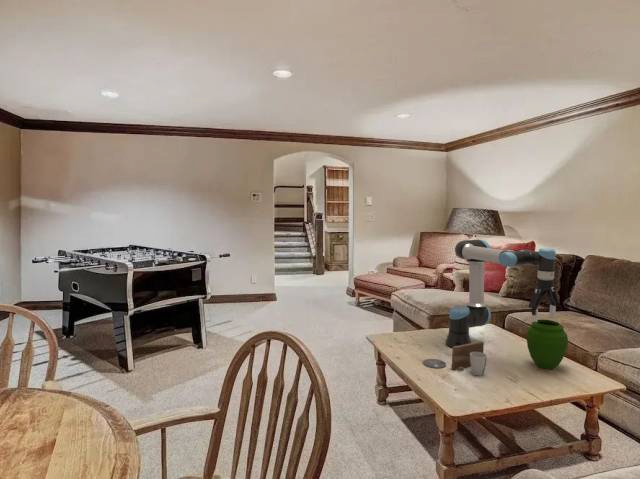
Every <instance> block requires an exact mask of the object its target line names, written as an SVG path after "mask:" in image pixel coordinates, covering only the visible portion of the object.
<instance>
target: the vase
mask: <svg viewBox="0 0 640 479" xmlns="http://www.w3.org/2000/svg"><path fill="white" fill-rule="evenodd" d="M525 336H526V337H525V338H526V344H527V349H528V353H529V356H530V358H531V360H532V361H533V362H534V364H535V366H536V367H538V368H540V369H542V370H548V371H550V370H551V371H552V370H555V369H556V368H557V367H558V366H559V365H560V364H561V363H562V361H563V359H564V357H565V356H566V353H567V350H568V349H567V348H568V345H569V338H568V333H567V332H566V331H565V330H564V326H563V325H562V324H560V323H559V322H558V321H556V320H550V319H538V320H537V322H535V321H533V322H531V326H529V327H528V329H527V331H526V335H525Z"/></svg>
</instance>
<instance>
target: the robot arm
mask: <svg viewBox="0 0 640 479" xmlns="http://www.w3.org/2000/svg"><path fill="white" fill-rule="evenodd" d="M490 246H491V245H490V243H488V242H487V241H486V240H484V239H469V240H468V239H467V240H466V239H464V240H461V241H459V242H457V243H456V245H455V247H454V252H455V255H456V257H457V258H459V259H461V260H466V263H468V274H469V275H468V277H469V278H468V279H469V280H468V281H469V282H468V285H469V286H468V288H469V290H468V291H469V293H468V294H469V296H468V297H469V298H468V299H469V301H468V302H467V303H466V306H465V305H461V306H460V305H459V306H453V307H451V308H450V309H449V314H448V318H449V319H448V321H449V322H448V334H447V336H446V340H445V345H446V346H447V347H449V348H451V349H452V347H455V346H460V345H465V344H470V343H472V341H471V337H470V328H477V327H483V326H486V325H488V324H489V323H490V321H491V320H492V313H491V311H490V309H489V308H488V307H487V303H485V264H486V263H487V262H489V263H494V264H498V265H502V267H507V268H508V267H517V266H536V267H537V273H536V274H537V279H536V285H537V287H538V289H537V288H534V289H533V293H532V297H531V299H530V301H529V305H528V308H530V309H531V321H533V322H534V321H535V322H537V320H539V318H538V317H539V315H538V314H539V309H538V307H539V306H540V304H541V302H542V300H543V299H545V298H547V300H548V301H549V303H550V305H549V315H548V316H549V318H551V319H556V311H557V310H556V309H557V307H558V306H559V305H560V301H559V296H558V294H557V288H556V287H555V280H554V279H555V272H556V269H555V266H556V258H557V257H556V250H555V249H553V248H545V247H544V248H539V249H538V251H537V250H529V249H521V250H518V251H510V250H505V249H504V250H503V249H497V248H491V247H490Z"/></svg>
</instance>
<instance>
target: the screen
mask: <svg viewBox="0 0 640 479" xmlns="http://www.w3.org/2000/svg"><path fill="white" fill-rule="evenodd" d="M484 344H485V343H484V342H483V341H476V342H471V343H470V344H465V345H460V346H455V347H452V348H451V349H452V351H451V352H452V356H451V367H450V368H451V370H453V371H458V372H463V371H465V369H467V368H471V364H470V353H471V352H481V353H484V348H485V347H484V346H485V345H484Z"/></svg>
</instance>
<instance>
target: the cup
mask: <svg viewBox="0 0 640 479" xmlns="http://www.w3.org/2000/svg"><path fill="white" fill-rule="evenodd" d="M487 358H488V355H487V354H486V353H484V352H483V353H481V352H471V353H470V364H471V367H470V370H471V372H472V374H473V375H475V376H479V377H480V376H481V377H482V376H483V375H484V373H485V370H486V365H487V360H488V359H487Z"/></svg>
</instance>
